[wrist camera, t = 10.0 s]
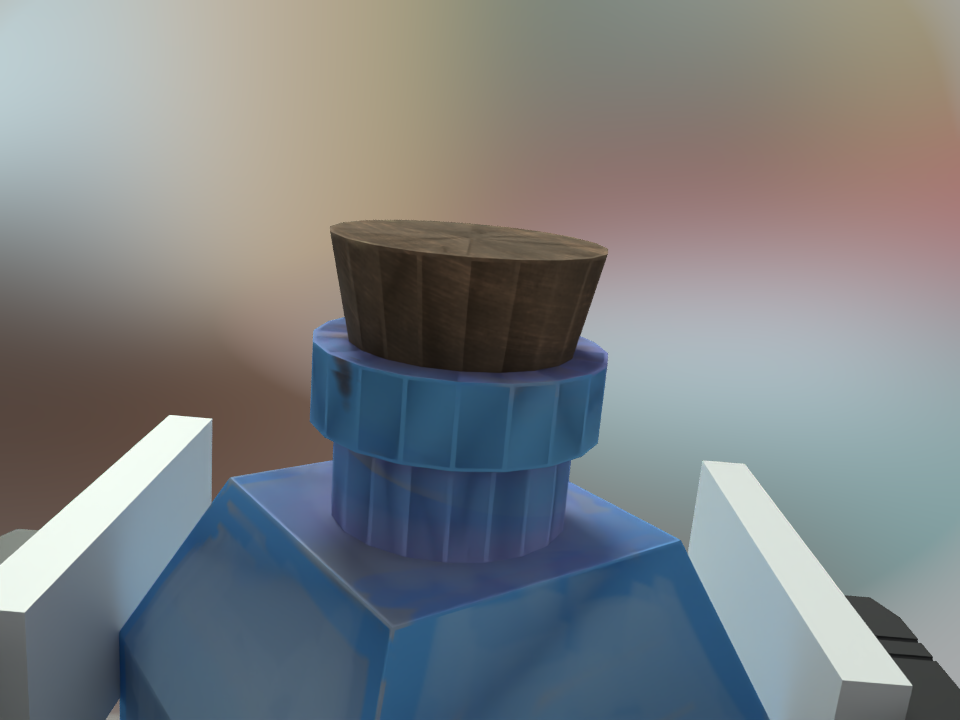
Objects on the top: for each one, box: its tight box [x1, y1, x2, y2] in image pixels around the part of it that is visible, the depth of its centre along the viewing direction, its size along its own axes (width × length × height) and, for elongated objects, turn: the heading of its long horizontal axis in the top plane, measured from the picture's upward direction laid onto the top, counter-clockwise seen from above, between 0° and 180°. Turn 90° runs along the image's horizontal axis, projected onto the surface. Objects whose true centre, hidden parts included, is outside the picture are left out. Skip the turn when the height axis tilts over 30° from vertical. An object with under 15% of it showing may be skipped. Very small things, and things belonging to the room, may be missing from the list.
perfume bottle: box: [119, 220, 770, 720], centre depth 12 cm, size 6×6×12 cm
